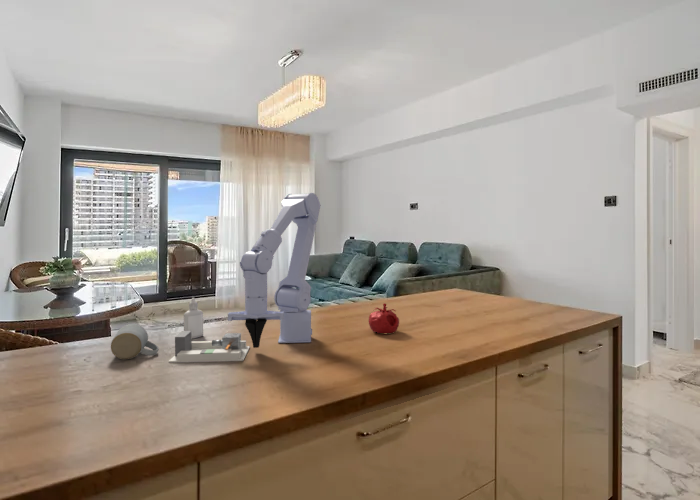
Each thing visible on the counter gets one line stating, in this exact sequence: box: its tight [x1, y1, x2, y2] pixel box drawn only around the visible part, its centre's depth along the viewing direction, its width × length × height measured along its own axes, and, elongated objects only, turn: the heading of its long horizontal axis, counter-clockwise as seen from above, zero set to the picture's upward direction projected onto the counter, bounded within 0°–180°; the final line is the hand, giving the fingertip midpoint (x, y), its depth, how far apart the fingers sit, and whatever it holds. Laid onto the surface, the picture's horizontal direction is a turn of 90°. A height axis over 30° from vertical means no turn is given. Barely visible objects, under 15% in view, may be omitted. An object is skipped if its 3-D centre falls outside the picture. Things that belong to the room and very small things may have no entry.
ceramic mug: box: [110, 323, 160, 361], centre depth 105 cm, size 11×8×8 cm
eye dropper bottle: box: [183, 297, 204, 340], centre depth 123 cm, size 4×6×12 cm
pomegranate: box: [368, 302, 400, 334], centre depth 131 cm, size 10×10×9 cm
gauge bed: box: [168, 330, 251, 364], centre depth 106 cm, size 18×11×5 cm, turn 96°
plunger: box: [211, 332, 242, 350], centre depth 105 cm, size 7×9×4 cm
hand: (256, 346), depth 108 cm, fingers closed
